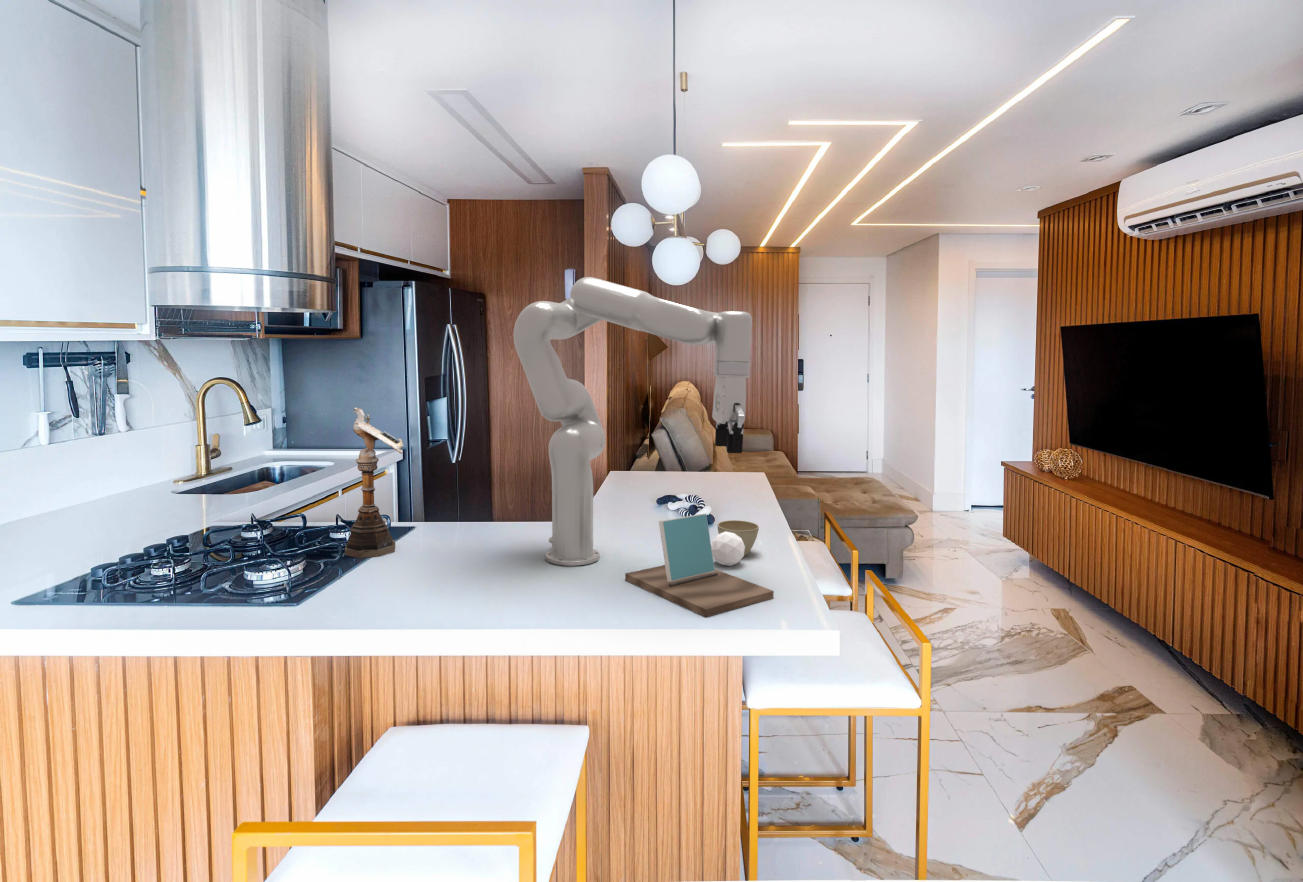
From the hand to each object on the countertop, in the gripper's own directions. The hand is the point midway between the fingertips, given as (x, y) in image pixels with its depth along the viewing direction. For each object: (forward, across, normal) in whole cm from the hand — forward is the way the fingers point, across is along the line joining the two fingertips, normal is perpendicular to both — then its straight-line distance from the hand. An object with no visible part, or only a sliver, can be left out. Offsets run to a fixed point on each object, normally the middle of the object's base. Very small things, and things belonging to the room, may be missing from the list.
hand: (728, 449), depth 157 cm
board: (+28, +9, -8) cm, 30 cm away
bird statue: (+30, -29, -77) cm, 88 cm away
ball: (+28, -6, +3) cm, 29 cm away
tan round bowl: (+28, -15, +8) cm, 33 cm away
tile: (+20, +6, -10) cm, 23 cm away
